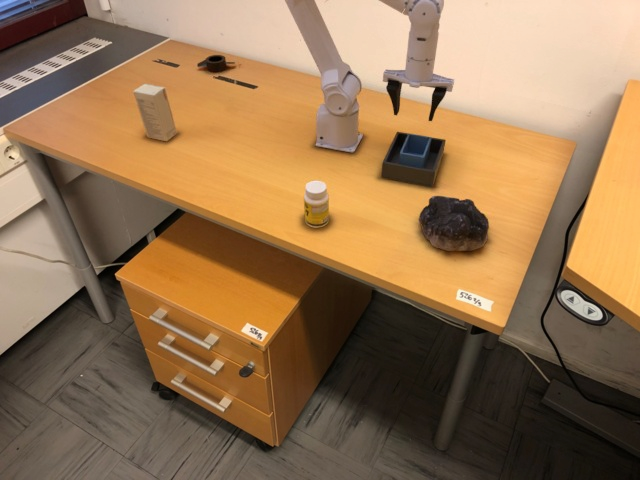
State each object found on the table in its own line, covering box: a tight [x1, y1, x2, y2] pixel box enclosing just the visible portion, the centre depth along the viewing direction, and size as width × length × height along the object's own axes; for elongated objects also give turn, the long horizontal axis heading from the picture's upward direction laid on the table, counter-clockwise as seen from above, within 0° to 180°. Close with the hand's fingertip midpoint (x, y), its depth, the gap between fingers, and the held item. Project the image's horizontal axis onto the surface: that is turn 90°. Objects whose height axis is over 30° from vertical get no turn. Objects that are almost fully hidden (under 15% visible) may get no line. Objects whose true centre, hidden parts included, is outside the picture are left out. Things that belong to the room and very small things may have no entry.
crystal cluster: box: [418, 195, 490, 252], centre depth 96 cm, size 13×14×10 cm
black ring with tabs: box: [197, 54, 236, 74], centre depth 153 cm, size 8×10×3 cm
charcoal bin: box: [381, 131, 447, 188], centre depth 114 cm, size 11×13×4 cm
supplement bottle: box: [303, 180, 330, 229], centre depth 99 cm, size 5×5×8 cm
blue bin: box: [399, 132, 433, 168], centre depth 113 cm, size 8×5×5 cm, turn 160°
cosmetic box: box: [132, 83, 178, 142], centre depth 122 cm, size 6×4×12 cm
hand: (413, 116), depth 113 cm, fingers open, 7 cm apart
